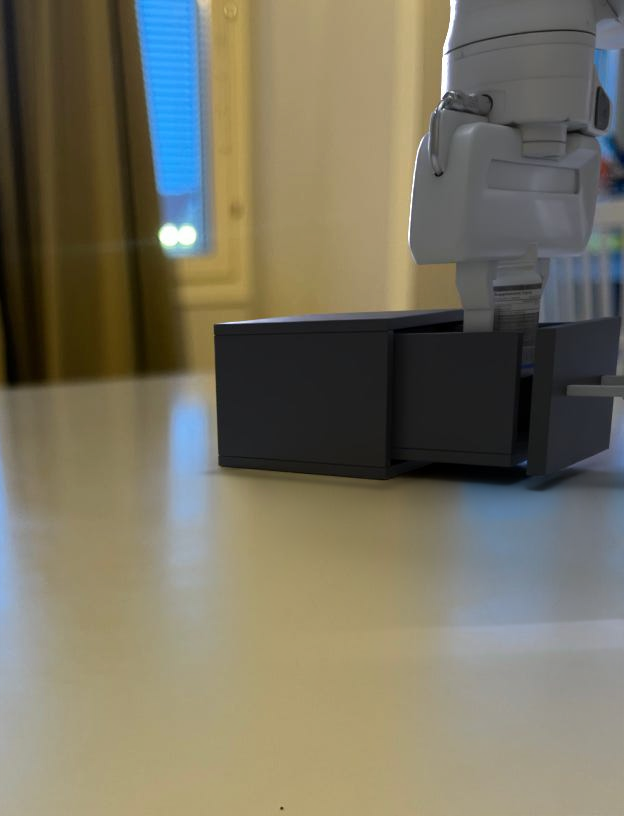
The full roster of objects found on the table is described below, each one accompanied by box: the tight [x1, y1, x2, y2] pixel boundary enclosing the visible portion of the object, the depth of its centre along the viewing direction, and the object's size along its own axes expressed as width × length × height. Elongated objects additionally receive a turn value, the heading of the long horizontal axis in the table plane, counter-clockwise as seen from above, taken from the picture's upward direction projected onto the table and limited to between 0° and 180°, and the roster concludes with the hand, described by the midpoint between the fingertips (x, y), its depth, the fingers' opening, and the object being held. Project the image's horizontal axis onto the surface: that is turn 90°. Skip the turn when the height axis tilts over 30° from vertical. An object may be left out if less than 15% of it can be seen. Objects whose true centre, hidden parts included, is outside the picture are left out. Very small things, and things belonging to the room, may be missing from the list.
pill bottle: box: [493, 242, 542, 378], centre depth 66 cm, size 5×5×8 cm
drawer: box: [391, 316, 624, 478], centre depth 66 cm, size 18×11×9 cm, turn 48°
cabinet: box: [213, 307, 464, 481], centre depth 75 cm, size 15×13×11 cm
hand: (501, 334), depth 66 cm, fingers closed on pill bottle, 5 cm apart
